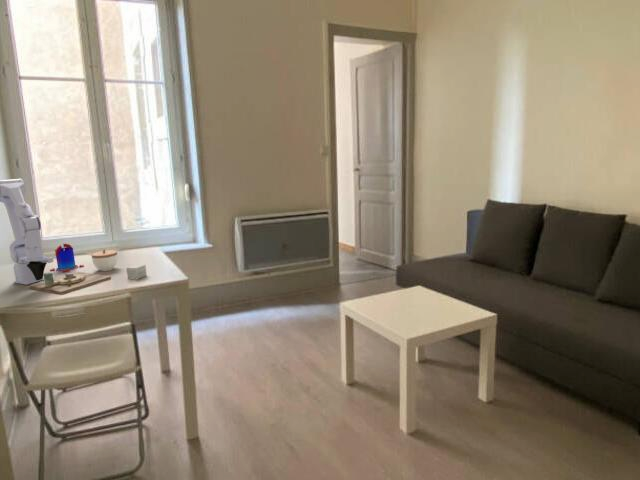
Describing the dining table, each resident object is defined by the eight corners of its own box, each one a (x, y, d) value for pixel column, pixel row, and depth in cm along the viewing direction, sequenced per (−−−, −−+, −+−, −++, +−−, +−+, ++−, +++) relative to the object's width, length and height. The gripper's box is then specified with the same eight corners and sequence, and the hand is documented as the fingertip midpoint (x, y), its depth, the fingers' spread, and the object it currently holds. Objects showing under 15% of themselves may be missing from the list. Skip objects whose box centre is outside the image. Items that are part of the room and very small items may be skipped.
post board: (28, 287, 187) (26, 278, 186) (78, 273, 206) (76, 265, 205) (62, 294, 177) (60, 284, 176) (111, 278, 196) (109, 269, 195)
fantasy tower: (65, 273, 208) (61, 247, 206) (46, 271, 212) (42, 246, 210) (86, 266, 219) (83, 241, 217) (68, 264, 223) (64, 240, 221)
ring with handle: (77, 275, 199) (75, 263, 198) (89, 278, 192) (88, 267, 191) (40, 284, 187) (38, 272, 186) (51, 288, 180) (49, 276, 179)
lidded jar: (88, 271, 209) (85, 251, 207) (107, 265, 219) (104, 246, 217) (106, 273, 205) (103, 252, 203) (124, 267, 215) (121, 247, 213)
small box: (137, 274, 200) (135, 264, 199) (147, 275, 198) (145, 264, 197) (127, 278, 195) (125, 267, 194) (137, 279, 193) (136, 268, 192)
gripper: (10, 249, 180) (16, 282, 183) (40, 249, 177) (46, 282, 180) (25, 245, 187) (30, 277, 190) (55, 245, 184) (60, 277, 187)
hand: (39, 279), depth 185 cm, fingers closed
